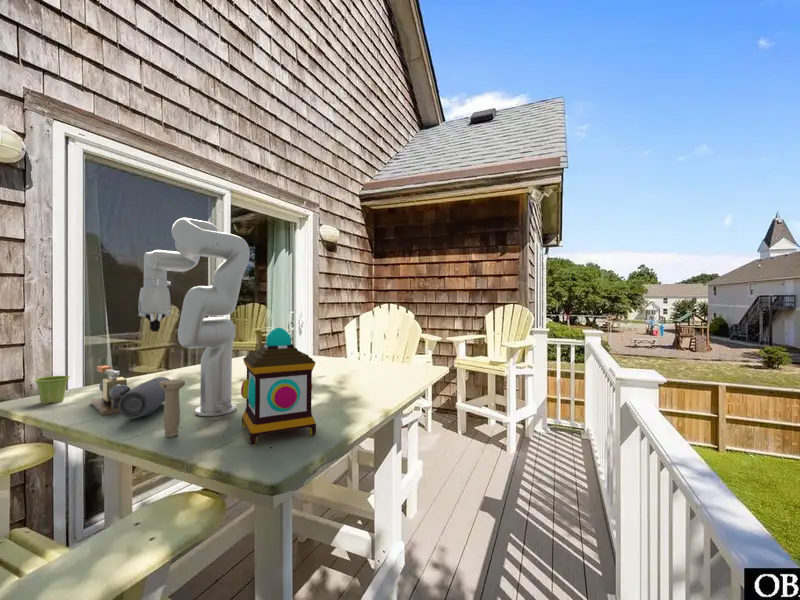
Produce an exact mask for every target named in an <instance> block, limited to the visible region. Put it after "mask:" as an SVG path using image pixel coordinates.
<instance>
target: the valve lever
mask: <svg viewBox="0 0 800 600" xmlns="http://www.w3.org/2000/svg"><path fill="white" fill-rule="evenodd" d="M96 372H98V373H100V374H103V373H104V374H107V375H110V377H112V376H116V375H118V376H120V370H115V369H112V366H109V365H97V366H96Z"/></svg>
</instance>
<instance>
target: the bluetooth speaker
mask: <svg viewBox="0 0 800 600" xmlns="http://www.w3.org/2000/svg"><path fill="white" fill-rule="evenodd" d="M165 380H170V378H168V377H164V376H159V377H154V378H152V379H149V380H147V381H145V382H142V383H140V384H139V385H137V386H135V387H134V388H132V389H131V390H130V391H129V392H127V393H126V394H125V395H124V396H123V397H122V398H121V399H120V401H119V404H118V409H119V411H120V414H121V416H123V417H125V418H127V419H137V418H141V416H142V417H147V416H149V415H151V414H153V413H154V412H156V410H157V409H158V408H159V407H160V406H161V405H162V404H163V403H165V390H164V389H162V388H160V387H159V382H161V381H165ZM153 411H154V412H153Z"/></svg>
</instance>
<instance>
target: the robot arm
mask: <svg viewBox="0 0 800 600" xmlns="http://www.w3.org/2000/svg"><path fill="white" fill-rule="evenodd" d="M171 235H172V238H173V239H174V241H175V242H174V245H175V249H176V251H173V250H162V249H155V250H153V251H148V252H145V253H144V254H143V287H141V288H140V290H139V296H138V317H142V318H146V319H147V320H148V321H149V330H150V331H151V332H154V333H155V332H159V330H160V329H161V321H162V320H163V319H164V318H166V317H170V316H172V314H171V307H172V305H171V294H170V291H169V290H170V289H169V287H168V286H171V281H168V279H167V277H168V276H167V272H169V271H170V272H181V273H182V272H188V271H189V270H192V269H193V268H195V267H196V266H197V265H199V261H200V258H201V257H204V258H215V259H223V260H224V261H223V262H222V263H221V264H220V265H219V266H218V267H217V268H216V270H215V271H214V274H213V280H212V283H211V285H209V286H208V285H207V286H206V285H198V286H193V287H191V288H190V289H189V290H188V291H187V293H185V296H184V299H183V303H182V307H181V311H180V312H181V313H180V318H179V322H178V329H177V340H178V343H179V344H180V345H181V346H182V347H183V348H185V349H201V348H204V349H205V350H204V351H203V354H202V355H201V358H200V386H199V387H200V388H199V389H200V396H199V397H200V400H199V402H200V404H199V406H198V407H196V408H195V409H194V414H195V415H196V416H199V417H200V416H201V417H216V416H218V417H219V416H223V415H227V414H230V413H233V412H235V411H236V410H237V405H236V404H235V403H232V381H233V380H232V379H233V377H232V375H233V374H232V373H233V365H232V364H233V360H232V359H233V347H234V341H235V338H236V326H235V323H234V322H233V321H232V320H231V319H229V318H226V317H221V316H227V315H230V314H232V313H234V312H235V310H236V307H237V304H238V300H239V299H238V298H239V295H240V291H241V285H242V281H243V276H244V274H245V272H246V269H247V267H248V264H249V261H250V257H251V256H250V255H251V253H250V251H251V250H250V246H249V244H248V242H247V241H246V240H245V239H244V238H243V237H241V236H238V235H236V234H232V233H228V232H220V230H219V228H218V227H217V226H216V225H215V224H213V223H212V222H209V221H205V220H199V219H193V218H189V217H182V218H179V219H177V220H176V221H175V222H174V223H173V224H172V228H171ZM154 314H156V315H154ZM210 316H211V317H210ZM212 316H214V317H212ZM216 316H218V317H216ZM219 316H220V317H219Z"/></svg>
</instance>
